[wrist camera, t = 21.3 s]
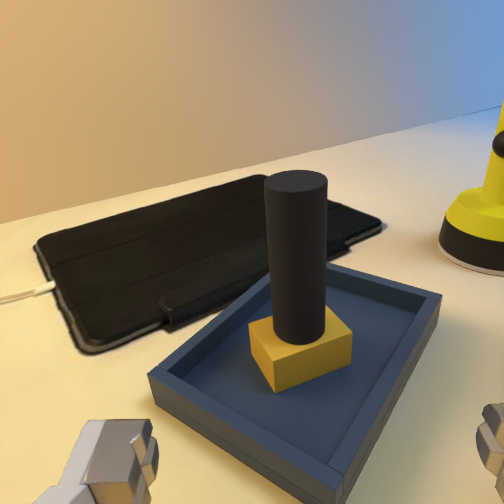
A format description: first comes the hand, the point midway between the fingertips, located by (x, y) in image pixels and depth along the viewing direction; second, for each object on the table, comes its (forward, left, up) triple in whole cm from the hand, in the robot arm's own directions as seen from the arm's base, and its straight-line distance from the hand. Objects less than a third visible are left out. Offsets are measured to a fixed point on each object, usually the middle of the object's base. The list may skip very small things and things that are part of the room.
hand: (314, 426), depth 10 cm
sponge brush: (-6, +10, -9) cm, 15 cm away
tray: (-6, +11, -10) cm, 16 cm away
